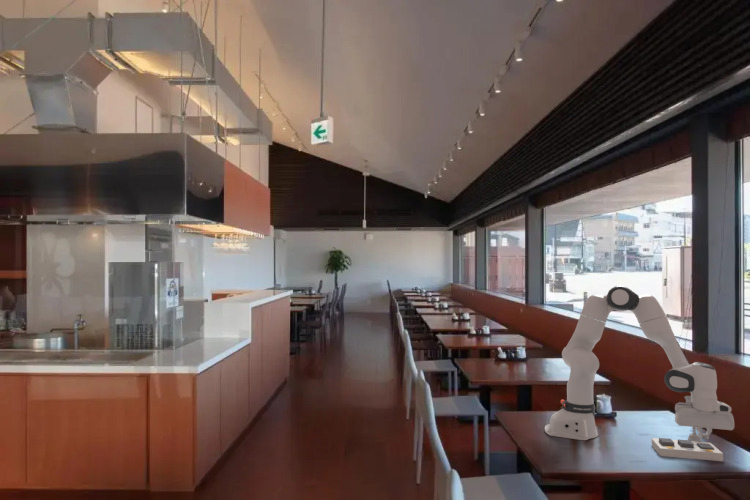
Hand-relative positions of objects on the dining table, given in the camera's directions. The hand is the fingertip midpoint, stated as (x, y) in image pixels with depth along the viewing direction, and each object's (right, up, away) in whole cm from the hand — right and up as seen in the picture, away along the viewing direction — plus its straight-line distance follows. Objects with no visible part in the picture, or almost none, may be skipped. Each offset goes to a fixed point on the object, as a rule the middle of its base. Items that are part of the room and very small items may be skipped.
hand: (703, 438), depth 200 cm
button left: (-13, -5, +4) cm, 14 cm away
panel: (-6, -7, +2) cm, 9 cm away
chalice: (+7, -7, +17) cm, 20 cm away
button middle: (-6, -5, +2) cm, 8 cm away
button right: (+1, -5, 0) cm, 5 cm away
